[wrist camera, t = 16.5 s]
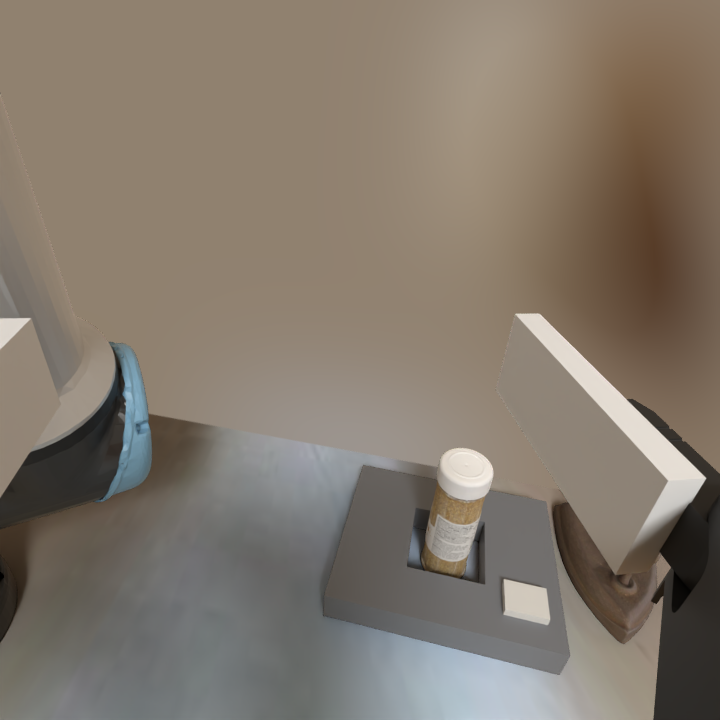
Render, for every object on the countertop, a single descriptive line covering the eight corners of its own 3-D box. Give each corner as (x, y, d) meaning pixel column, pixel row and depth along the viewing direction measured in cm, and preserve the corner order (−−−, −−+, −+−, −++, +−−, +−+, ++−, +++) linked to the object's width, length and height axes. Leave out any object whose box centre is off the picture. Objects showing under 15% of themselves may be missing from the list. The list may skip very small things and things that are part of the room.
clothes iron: (552, 510, 53) (582, 436, 48) (645, 533, 52) (687, 458, 46) (562, 628, 42) (603, 549, 36) (682, 663, 40) (745, 585, 34)
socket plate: (323, 615, 42) (324, 589, 40) (361, 484, 55) (363, 459, 53) (559, 675, 38) (573, 650, 36) (538, 520, 52) (548, 496, 50)
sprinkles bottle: (430, 537, 49) (450, 438, 42) (472, 557, 47) (500, 458, 40) (412, 570, 46) (431, 470, 39) (457, 594, 44) (485, 492, 37)
